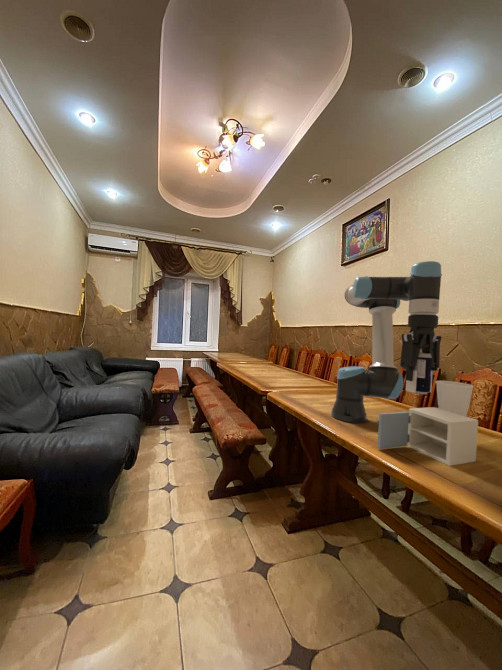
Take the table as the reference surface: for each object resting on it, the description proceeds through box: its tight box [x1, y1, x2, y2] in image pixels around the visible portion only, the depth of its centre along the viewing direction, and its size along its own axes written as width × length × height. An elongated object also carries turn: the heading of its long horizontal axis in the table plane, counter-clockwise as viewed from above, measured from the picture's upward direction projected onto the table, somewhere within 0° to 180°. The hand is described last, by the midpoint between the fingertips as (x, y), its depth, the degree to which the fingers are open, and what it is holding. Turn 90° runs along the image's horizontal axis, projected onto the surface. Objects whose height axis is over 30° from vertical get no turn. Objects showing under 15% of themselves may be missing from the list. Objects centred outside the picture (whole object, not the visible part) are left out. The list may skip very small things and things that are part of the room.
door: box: [375, 411, 411, 450], centre depth 87 cm, size 2×13×12 cm, turn 109°
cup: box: [434, 380, 474, 417], centre depth 97 cm, size 12×12×22 cm
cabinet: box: [406, 406, 479, 467], centre depth 85 cm, size 14×12×13 cm
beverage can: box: [415, 352, 432, 395], centre depth 77 cm, size 6×6×12 cm
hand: (418, 391), depth 77 cm, fingers closed on beverage can, 6 cm apart
